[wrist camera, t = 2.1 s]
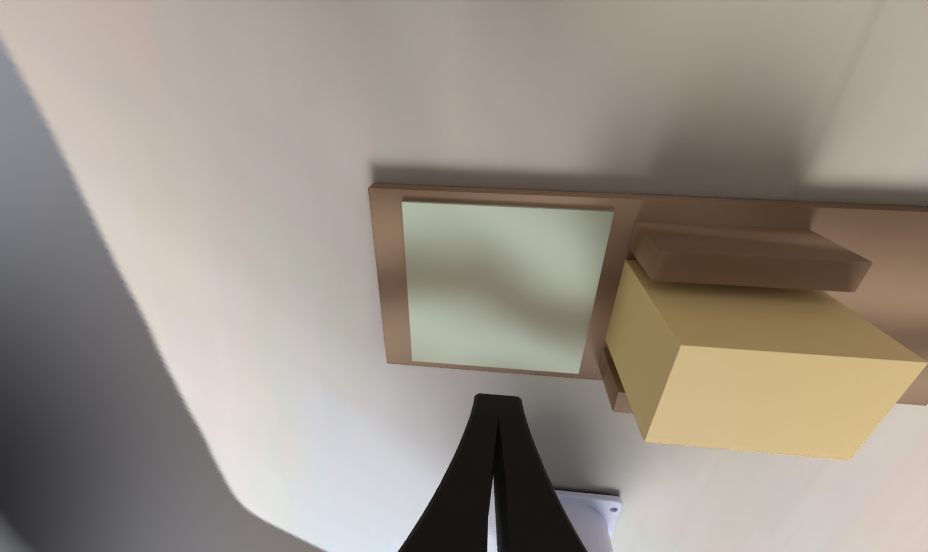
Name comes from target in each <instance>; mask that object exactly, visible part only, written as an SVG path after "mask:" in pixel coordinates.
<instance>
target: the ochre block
mask: <svg viewBox="0 0 928 552" xmlns="http://www.w3.org/2000/svg"><path fill="white" fill-rule="evenodd" d="M605 340H606V343H607V345H608V348H609V351H610V353H611V356H612V358H613V361H614V364H615V366H616V369H617V372H618V374H619V377H620V379H621V382H622V385H623V387H624V390H625V393H626V395H627V398H628V400H629V403H630V406H631V408H632V411H633V414H634V416H635V419H636V422H637V424H638V427H639V429H640V432H641V435H642V437H643V440H644V442H649V443H660V444H671V445H682V446H693V447H705V448H716V449H727V450H738V451H749V452H760V453H771V454H783V455H794V456H805V457H816V458H827V459H838V460H850V459H851V458H852V457H853V456H854V454H855V453H856V452H857V451H858V449H859V448H860V447H861V446H862V444H863V443H864V442H865V441H866V439H867V438H868V437H869V436H870V434H871V433H872V432H873V431H874V429H875V428H876V427H877V426H878V425H879V423H880V422H881V421H882V420H883V418H884V417H885V416H886V415H887V413H888V412H889V411H890V410H891V408H892V407H893V406H894V405H895V403H896V402H897V401H898V400H899V399H900V397H901V396H902V395H903V394H904V392H905V391H906V390H907V389H908V387H909V386H910V385H911V384H912V382H913V381H914V380H915V379H916V377H917V376H918V375H919V374H920V373H921V371H922V370H923V369H924V368H925V366H926V365H927V364H928V362H927V361H925V360H924V359H922V358H921V357H919V356H918V355H916V354H915V353H913V352H912V351H910V350H909V349H908V348H906V347H905V346H903V345H902V344H900V343H899V342H897V341H896V340H894V339H893V338H891V337H890V336H889V335H887V334H886V333H884V332H883V331H881V330H880V329H878V328H877V327H875V326H874V325H872V324H871V323H870V322H868V321H867V320H865V319H864V318H862V317H861V316H859V315H858V314H856V313H855V312H853V311H852V310H851V309H849V308H848V307H846V306H845V305H843V304H842V303H840V302H839V301H837V300H836V299H834V298H833V297H831V296H830V295H829V294H827V293H826V292H824V291H820V290H803V289H786V288H769V287H752V286H735V285H718V284H701V283H684V282H667V281H652V280H651V278H650V277H649V276H648V274H647V273H646V271H645V270H644V269H643V267H642V266H641V264H640V263H639V262H638V260H625V263H624V267H623V271H622V275H621V279H620V283H619V286H618V290H617V294H616V298H615V302H614V306H613V310H612V314H611V318H610V322H609V326H608V330H607V334H606V338H605Z"/></svg>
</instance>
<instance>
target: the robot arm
mask: <svg viewBox="0 0 928 552" xmlns="http://www.w3.org/2000/svg"><path fill="white" fill-rule="evenodd" d="M493 477H494V496H495V514H496V533H497V551H498V552H613V549H612V545H611V541H610V537H611V534H612V532H613V529H614V527H615V524H616V521H617V519H618V516H619V514H620V511H621V508H622V506H623V504H622V500H621V498H619V497H617V496H610V495H600V494H590V493H580V492H570V491H561V490H554V488H553V486H552V484H551V482H550V480H549V477H548V475H547V473H546V471H545V468H544V466H543V464H542V461H541V459H540V456H539V454H538V451H537V449H536V446H535V444H534V441H533V438H532V436H531V433H530V430H529V427H528V424H527V420H526V417H525V414H524V410H523V405H522V400H521V399H520V398H519V397H516V396H504V395H492V394H480V393H478V394H477V395H475V398H474V403H473V407H472V411H471V414H470V417H469V421H468V423H467V426H466V429H465V431H464V434H463V436H462V439H461V441H460V443H459V446H458V448H457V450H456V453H455V455H454V457H453V459H452V461H451V463H450V465H449V467H448V469H447V471H446V473H445V475H444V477H443V479H442V481H441V483H440V485H439V486H438V488H437V490H436V492H435V494H434V495H433V497H432V499H431V501H430V502H429V504H428V506H427V507H426V509H425V511H424V512H423V514H422V516H421V517H420V519H419V520H418V522H417V524H416V525H415V527H414V528H413V530H412V531H411V533H410V534H409V536H408V538H407V539H406V541H405V542H404V543H403V545H402V546H401V548H400V549H399V551H398V552H487V537H488V514H489V506H490V497H491V489H492V480H493Z"/></svg>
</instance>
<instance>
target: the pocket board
mask: <svg viewBox="0 0 928 552" xmlns="http://www.w3.org/2000/svg"><path fill="white" fill-rule="evenodd" d="M368 190H369V200H370V209H371V218H372V228H373V237H374V246H375V255H376V265H377V274H378V283H379V292H380V302H381V311H382V320H383V329H384V339H385V348H386V357H387V363H389V364H402V365H415V366H428V367H440V368H453V369H466V370H479V371H491V372H504V373H517V374H530V375H542V376H555V377H568V378H580V379H593V380H603V382H604V385H605V388H606V391H607V394H608V397H609V401H610V404H611V407H612V410H613V411H614V412H626V413H633V411H632V408H631V406H630V403H629V400H628V398H627V395H626V393H625V390H624V387H623V385H622V382H621V379H620V377H619V374H618V372H617V369H616V366H615V364H614V361H613V358H612V356H611V353H610V351H609V348H608V345H607V343H606V340H605V338H606V334H607V330H608V326H609V322H610V318H611V314H612V310H613V306H614V302H615V298H616V294H617V290H618V286H619V283H620V279H621V275H622V271H623V267H624V263H625V260H638V262H639V263H640V264H641V266H642V267H643V269H644V270H645V271H646V273H647V274H648V276H649V277H650V278H651V280H652V281H667V282H684V283H701V284H718V285H735V286H752V287H769V288H786V289H803V290H820V291H824V292H826V293H827V294H829V295H830V296H831V297H833V298H834V299H836V300H837V301H839V302H840V303H842V304H843V305H845V306H846V307H848V308H849V309H851V310H852V311H853V312H855V313H856V314H858V315H859V316H861V317H862V318H864V319H865V320H867V321H868V322H870V323H871V324H872V325H874V326H875V327H877V328H878V329H880V330H881V331H883V332H884V333H886V334H887V335H889V336H890V337H891V338H893V339H894V340H896V341H897V342H899V343H900V344H902V345H903V346H905V347H906V348H908V349H909V350H910V351H912V352H913V353H915V354H916V355H918V356H919V357H921V358H922V359H924V360H925V361H927V362H928V207H924V206H901V205H877V204H853V203H830V202H806V201H782V200H759V199H735V198H711V197H688V196H664V195H640V194H617V193H593V192H569V191H545V190H522V189H498V188H474V187H451V186H427V185H403V184H380V183H374V184H372V185H371V186H370V187H369V188H368ZM896 403H899V404H912V405H925V406H926V405H927V404H928V364H927V365H926V366H925V368H924V369H923V370H922V371H921V373H920V374H919V375H918V376H917V377H916V379H915V380H914V381H913V382H912V384H911V385H910V386H909V387H908V389H907V390H906V391H905V392H904V394H903V395H902V396H901V397H900V399H899V400H898V401H897V402H896Z"/></svg>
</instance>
